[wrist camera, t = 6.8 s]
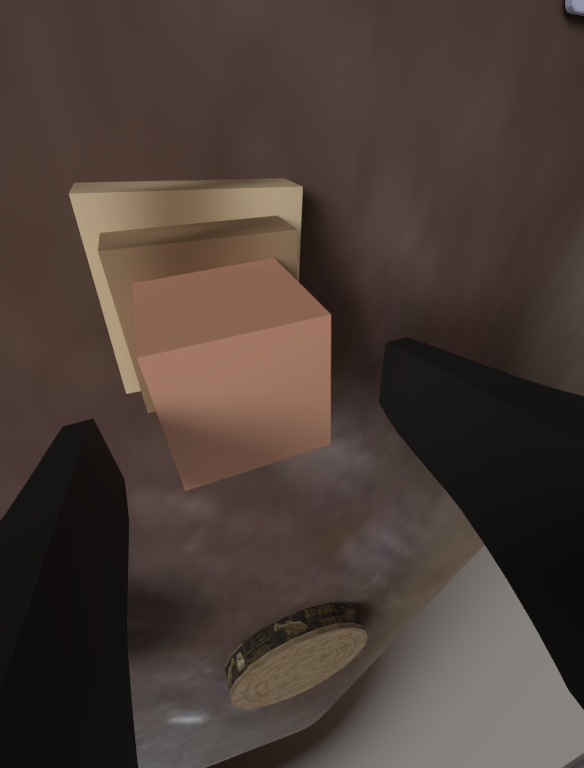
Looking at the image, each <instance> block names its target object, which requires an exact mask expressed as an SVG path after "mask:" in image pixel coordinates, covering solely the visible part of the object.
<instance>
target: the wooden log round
mask: <svg viewBox="0 0 584 768" xmlns="http://www.w3.org/2000/svg"><path fill="white" fill-rule="evenodd" d="M367 638H368V636H367V634H366V632H365V630H364V628H363V626H362V623H361V621H360V619H359V617H358V615H357V613H356V611H355V609H354V607H353V606H352V605H350V604H347V603H345V602H327V603H323V604H318V605H314V606H310V607H306V608H304V609H301V610H299V611H296V612H293V613H291V614H288V615H286V616H284V617H282V618H280V619H278V620H276V621H274V622H273V623H271V624H269V625H267V626H265V627H263V628H262V629H260V630H259V631H258V632H256V633H255V634H253V635H252V636H251V637H249V638H248V639H247V640H245V641H244V642H243V643H242V644H241V645H240V646H239V647H238V648H237V649H236V650H235V651H234V652H233V653H232V654H231V655H230V657H229V659H228V661H227V663H226V665H225V670H226V675H227V681H228V686H229V691H230V696H231V701H232V705H234V706H236V707H238V708H240V709H244V708H258V707H262V706H267V705H271V704H274V703H277V702H280V701H283V700H285V699H288V698H291V697H293V696H295V695H297V694H299V693H302V692H304V691H306V690H308V689H310V688H312V687H314V686H315V685H317V684H319V683H321V682H322V681H324V680H326V679H328V678H329V677H330V676H332V675H333V674H335V673H336V672H338V671H339V670H341V669H342V668H343V667H345V666H346V665H347V664H348V663H349V662H350V661H351V660H353V659H354V658H355V657H356V656H357V655H358V653H359V652H360V651H361V650H362V648H363V647H364V646H365V643H366V641H367Z"/></svg>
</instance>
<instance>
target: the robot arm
mask: <svg viewBox="0 0 584 768" xmlns="http://www.w3.org/2000/svg"><path fill="white" fill-rule="evenodd" d="M565 8H566V10H567V12H568V13H570V14H575V15H581V16H584V0H565ZM379 403H380V405H381V407H382V408H383V410H384V412H385V413H386V415H387V417H388V418H389V420H390V422H391V423H392V425H393V426H394V428H395V429H396V431H397V432H398V434H399V435H400V436H401V437H402V439H403V440H404V441H405V442H406V443H407V445H408V446H409V447H410V448H411V450H412V451H413V452H414V453H415V454H416V456H417V457H418V458H419V459H420V460H421V461H422V463H423V464H424V465H425V466H426V467H427V469H428V470H429V471H430V472H431V473H432V475H433V476H434V477H435V478H436V479H437V481H438V482H439V483H440V484H441V485H442V486H443V488H444V489H445V490H446V491H447V492H448V494H449V495H450V496H451V497H452V499H453V500H454V501H455V502H456V504H457V505H458V506H459V508H460V509H461V510H462V512H463V513H464V515H465V516H466V518H467V519H468V521H469V522H470V523H471V525H472V526H473V528H474V529H475V531H476V532H477V534H478V535H479V537H480V538H481V540H482V541H483V543H484V544H485V546H486V547H487V549H488V550H489V552H490V553H491V555H492V556H493V558H494V560H495V561H496V563H497V564H498V566H499V568H500V569H501V571H502V572H503V574H504V575H505V577H506V578H507V580H508V582H509V584H510V585H511V587H512V589H513V590H514V592H515V594H516V595H517V597H518V599H519V600H520V602H521V604H522V605H523V607H524V609H525V611H526V612H527V614H528V616H529V617H530V619H531V621H532V622H533V624H534V626H535V628H536V630H537V632H538V633H539V635H540V637H541V639H542V641H543V642H544V644H545V646H546V648H547V650H548V652H549V653H550V655H551V657H552V659H553V661H554V663H555V665H556V666H557V668H558V670H559V672H560V674H561V676H562V678H563V680H564V682H565V684H566V686H567V688H568V690H569V691H570V693H571V694H572V695H573V696H574V698H575V699H576V700H577V702H578V703H579V704H580V706H581V707H582V708H583V709H584V396H580V395H576V394H573V393H569V392H565V391H561V390H557V389H554V388H551V387H547V386H544V385H540V384H537V383H534V382H531V381H528V380H525V379H522V378H519V377H516V376H513V375H510V374H507V373H504V372H501V371H498V370H495V369H493V368H490V367H487V366H484V365H482V364H479V363H476V362H474V361H471V360H468V359H466V358H463V357H460V356H458V355H455V354H452V353H450V352H447V351H444V350H442V349H439V348H436V347H434V346H431V345H428V344H425V343H422V342H419V341H416V340H413V339H409V338H402V339H398V340H394V341H391V342H387V343H386V344H385V353H384V362H383V371H382V379H381V388H380V397H379ZM128 549H129V516H128V506H127V497H126V489H125V480H124V478H123V476H122V474H121V472H120V470H119V468H118V466H117V464H116V462H115V460H114V458H113V456H112V454H111V452H110V450H109V448H108V446H107V444H106V442H105V441H104V439H103V437H102V435H101V433H100V431H99V429H98V427H97V425H96V423H95V421H94V419H90V420H86V421H82V422H79V423H75V424H71V425H67V426H63V427H62V429H61V430H60V432H59V433H58V435H57V436H56V438H55V439H54V441H53V442H52V444H51V445H50V447H49V448H48V450H47V451H46V453H45V455H44V456H43V458H42V459H41V461H40V462H39V464H38V466H37V467H36V469H35V470H34V472H33V473H32V475H31V476H30V478H29V480H28V481H27V483H26V484H25V486H24V487H23V489H22V490H21V492H20V493H19V495H18V496H17V498H16V499H15V501H14V502H13V503H12V505H11V506H10V508H9V509H8V511H7V512H6V514H5V515H4V517H3V518H2V520H1V521H0V768H138V762H137V753H136V743H135V732H134V721H133V710H132V700H131V687H130V674H129V661H128V648H127V592H128ZM562 768H584V753H583V754H582V755H580V756H579V757H577V758H576V759H575V760H573V761H571V762H570V763H568V764H567V765H565V766H564V767H562Z"/></svg>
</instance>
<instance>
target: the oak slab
mask: <svg viewBox="0 0 584 768" xmlns="http://www.w3.org/2000/svg"><path fill="white" fill-rule="evenodd" d="M302 194H303V186H300V185H298V184H296V183H294V182H292V181H289V180H287V179H285V178H277V179H232V180H187V181H142V182H97V183H74V184H73V186H72V188H71V190H70V192H69V196H70V199H71V203H72V206H73V210H74V213H75V217H76V220H77V224H78V227H79V231H80V234H81V237H82V241H83V244H84V248H85V251H86V255H87V258H88V262H89V265H90V269H91V272H92V276H93V279H94V283H95V286H96V290H97V293H98V297H99V300H100V304H101V307H102V311H103V314H104V318H105V321H106V325H107V328H108V332H109V335H110V338H111V342H112V345H113V349H114V352H115V356H116V359H117V363H118V366H119V370H120V373H121V377H122V380H123V384H124V387H125V391H126V394H127V393H133V392H138V391H141V389H140V386H139V382H138V379H137V376H136V373H135V370H134V366H133V363H132V360H131V357H130V353H129V350H128V347H127V344H126V340H125V337H124V334H123V331H122V328H121V324H120V321H119V318H118V315H117V311H116V308H115V305H114V302H113V299H112V295H111V292H110V289H109V286H108V282H107V279H106V276H105V273H104V270H103V266H102V263H101V260H100V257H99V253H98V245H99V235H100V233H103V232H113V231H123V230H133V229H144V228H154V227H164V226H174V225H185V224H195V223H205V222H215V221H226V220H236V219H246V218H256V217H267V216H277V215H278V216H279V217H280V218H282V219H283V220H285V221H286V222H288V223H289V224H290V225H292V226H293V227H295V228H296V229H298V242H297V281H298V282H299V264H300V241H301V217H302Z"/></svg>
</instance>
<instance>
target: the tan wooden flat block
mask: <svg viewBox="0 0 584 768" xmlns="http://www.w3.org/2000/svg"><path fill="white" fill-rule="evenodd" d="M297 242H298V229H296V228H295V227H293V226H292V225H290V224H289V223H288V222H286V221H285V220H283V219H282V218H280V217H279V216H278V215H277V216H267V217H256V218H246V219H236V220H226V221H215V222H205V223H195V224H185V225H174V226H164V227H154V228H144V229H133V230H123V231H113V232H103V233H100V235H99V245H98V253H99V257H100V260H101V263H102V266H103V270H104V273H105V276H106V279H107V282H108V286H109V289H110V292H111V295H112V299H113V302H114V305H115V308H116V311H117V315H118V318H119V321H120V324H121V328H122V331H123V334H124V337H125V340H126V344H127V347H128V350H129V353H130V357H131V360H132V363H133V366H134V370H135V373H136V376H137V379H138V382H139V386H140V389H141V392H142V395H143V399H144V402H145V405H146V408H147V411H148V413H150V412H154V411H156V409H155V407H154V404H153V401H152V398H151V396H150V393H149V390H148V387H147V385H146V382H145V379H144V377H143V374H142V371H141V368H140V366H139V363H138V360H137V353H136V336H135V319H134V303H133V286H132V284H133V283H139V282H144V281H149V280H155V279H160V278H166V277H171V276H177V275H182V274H188V273H193V272H198V271H204V270H209V269H215V268H221V267H226V266H232V265H237V264H243V263H248V262H254V261H260V260H265V259H271V258H275V259H276V260H277V261H278V262H279V263H280V264H281V265H282V266H283V267H284V268H285V269H286V270H287V271H288V272H289V273H290V274H291V275H292V276H293V277H294V278H295V279H296V280H297Z"/></svg>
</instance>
